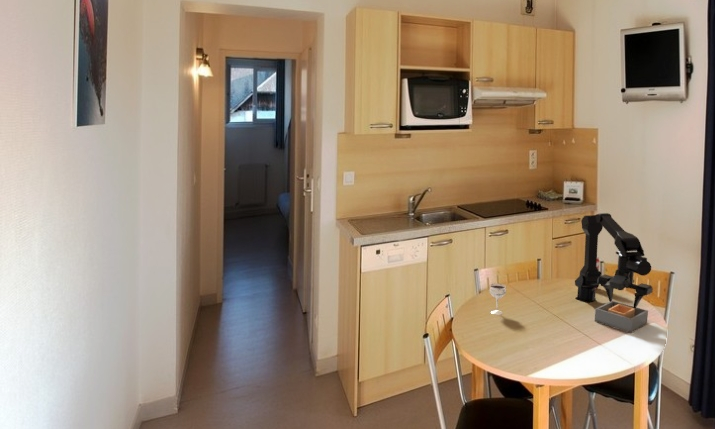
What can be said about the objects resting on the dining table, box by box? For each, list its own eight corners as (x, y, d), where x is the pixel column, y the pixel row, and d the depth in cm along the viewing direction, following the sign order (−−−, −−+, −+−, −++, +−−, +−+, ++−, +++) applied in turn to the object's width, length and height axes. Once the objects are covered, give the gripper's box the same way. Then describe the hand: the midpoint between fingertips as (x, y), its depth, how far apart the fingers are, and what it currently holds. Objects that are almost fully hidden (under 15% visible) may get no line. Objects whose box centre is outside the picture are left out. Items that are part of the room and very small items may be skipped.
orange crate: (607, 320, 184) (608, 309, 184) (617, 315, 190) (618, 303, 189) (623, 326, 179) (624, 314, 178) (633, 320, 185) (635, 308, 184)
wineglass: (487, 313, 196) (488, 287, 193) (490, 308, 202) (491, 282, 199) (503, 316, 193) (504, 289, 190) (506, 310, 198) (507, 284, 196)
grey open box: (594, 321, 186) (595, 308, 185) (611, 312, 194) (612, 300, 193) (630, 333, 175) (632, 319, 174) (646, 323, 183) (648, 310, 182)
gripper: (592, 266, 183) (589, 302, 186) (642, 277, 168) (638, 317, 171) (605, 261, 189) (602, 296, 192) (655, 271, 175) (651, 309, 177)
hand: (622, 304), depth 183 cm, fingers open, 9 cm apart
